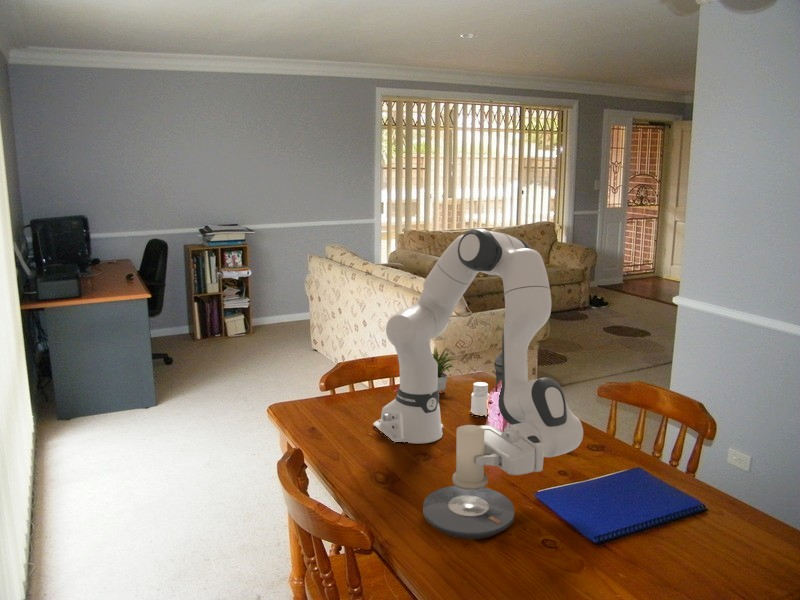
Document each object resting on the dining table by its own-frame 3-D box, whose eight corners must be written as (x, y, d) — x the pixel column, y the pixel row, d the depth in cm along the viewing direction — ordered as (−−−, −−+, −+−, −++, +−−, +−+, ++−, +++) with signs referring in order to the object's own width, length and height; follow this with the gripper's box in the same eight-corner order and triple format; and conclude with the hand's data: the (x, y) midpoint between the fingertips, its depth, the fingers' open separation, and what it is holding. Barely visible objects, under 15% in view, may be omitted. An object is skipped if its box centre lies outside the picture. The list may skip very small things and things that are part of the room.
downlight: (492, 418, 205) (493, 387, 204) (470, 418, 205) (470, 387, 204) (489, 410, 213) (490, 380, 212) (468, 410, 213) (468, 380, 212)
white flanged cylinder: (445, 480, 143) (445, 429, 141) (469, 471, 147) (470, 421, 145) (469, 493, 137) (470, 439, 135) (494, 482, 142) (495, 430, 139)
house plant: (444, 402, 220) (445, 355, 217) (409, 395, 227) (410, 349, 224) (463, 390, 232) (464, 346, 229) (429, 384, 239) (430, 341, 236)
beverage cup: (513, 392, 229) (515, 337, 226) (515, 399, 222) (517, 342, 219) (492, 392, 230) (494, 337, 227) (493, 398, 223) (495, 342, 219)
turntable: (404, 509, 145) (404, 502, 145) (468, 483, 157) (468, 476, 157) (468, 547, 130) (468, 540, 129) (533, 515, 142) (533, 508, 142)
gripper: (494, 415, 155) (443, 424, 149) (547, 446, 137) (492, 458, 131) (493, 440, 156) (443, 450, 150) (546, 474, 138) (491, 487, 132)
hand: (466, 454), depth 141 cm, fingers closed on white flanged cylinder, 6 cm apart
